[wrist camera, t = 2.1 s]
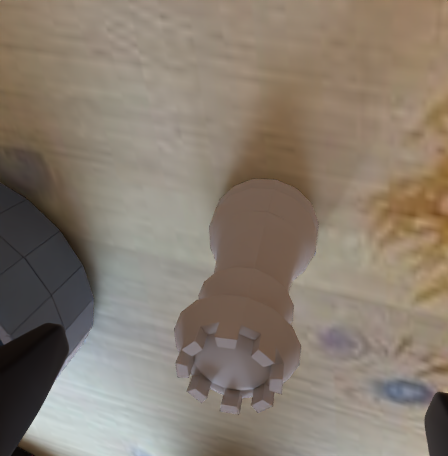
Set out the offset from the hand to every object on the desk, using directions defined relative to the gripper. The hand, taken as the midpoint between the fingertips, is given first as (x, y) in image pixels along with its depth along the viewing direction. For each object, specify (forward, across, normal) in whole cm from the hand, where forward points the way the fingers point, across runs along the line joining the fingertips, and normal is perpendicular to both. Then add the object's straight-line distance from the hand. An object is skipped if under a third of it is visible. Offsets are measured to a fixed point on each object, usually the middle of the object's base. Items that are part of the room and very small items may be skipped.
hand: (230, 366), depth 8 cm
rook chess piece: (+8, 0, 0) cm, 8 cm away
